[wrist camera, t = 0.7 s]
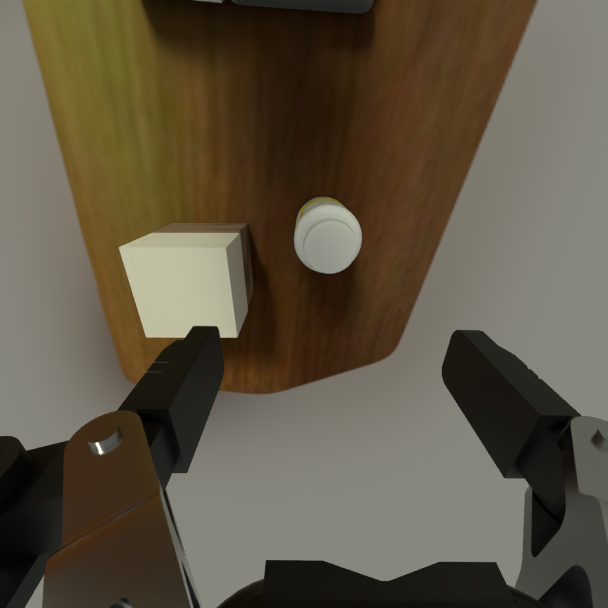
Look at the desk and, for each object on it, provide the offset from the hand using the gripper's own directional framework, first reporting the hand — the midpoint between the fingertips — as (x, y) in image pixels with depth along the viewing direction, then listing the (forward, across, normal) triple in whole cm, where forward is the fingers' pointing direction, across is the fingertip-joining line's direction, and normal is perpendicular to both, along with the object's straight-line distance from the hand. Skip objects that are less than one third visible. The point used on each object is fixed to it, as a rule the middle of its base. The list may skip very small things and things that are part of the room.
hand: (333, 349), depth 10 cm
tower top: (+17, +11, +4) cm, 21 cm away
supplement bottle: (+22, -1, 0) cm, 22 cm away
